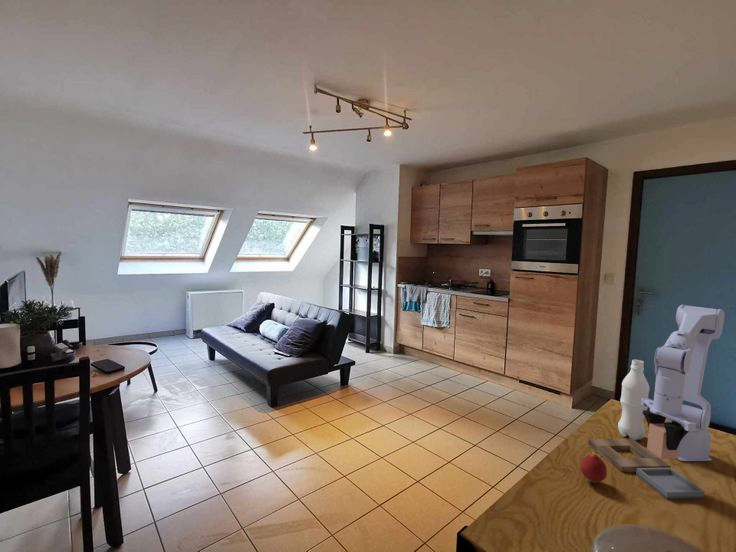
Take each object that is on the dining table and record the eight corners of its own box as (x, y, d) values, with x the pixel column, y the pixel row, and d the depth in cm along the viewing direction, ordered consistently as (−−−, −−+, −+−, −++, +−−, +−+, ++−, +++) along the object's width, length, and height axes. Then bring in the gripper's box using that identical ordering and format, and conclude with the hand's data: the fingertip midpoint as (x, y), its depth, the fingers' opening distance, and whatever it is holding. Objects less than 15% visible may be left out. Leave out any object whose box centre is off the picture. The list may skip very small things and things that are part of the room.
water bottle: (639, 433, 122) (647, 359, 120) (648, 444, 116) (656, 366, 113) (614, 429, 125) (621, 356, 122) (621, 439, 118) (628, 363, 115)
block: (663, 448, 100) (665, 423, 99) (677, 458, 95) (680, 432, 95) (646, 448, 99) (649, 423, 99) (661, 458, 95) (663, 432, 94)
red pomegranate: (598, 476, 99) (600, 447, 98) (610, 490, 93) (612, 460, 93) (575, 474, 100) (577, 445, 99) (585, 488, 94) (588, 458, 93)
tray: (669, 473, 101) (670, 467, 101) (703, 498, 91) (704, 491, 91) (636, 474, 100) (636, 468, 100) (666, 499, 91) (667, 492, 90)
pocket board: (631, 443, 116) (631, 438, 116) (670, 471, 102) (670, 465, 102) (588, 443, 115) (588, 439, 115) (621, 471, 101) (621, 466, 101)
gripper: (632, 382, 103) (627, 429, 104) (678, 406, 88) (672, 460, 90) (656, 382, 103) (651, 429, 104) (706, 406, 89) (700, 460, 90)
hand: (663, 443), depth 97 cm, fingers closed on block, 4 cm apart
